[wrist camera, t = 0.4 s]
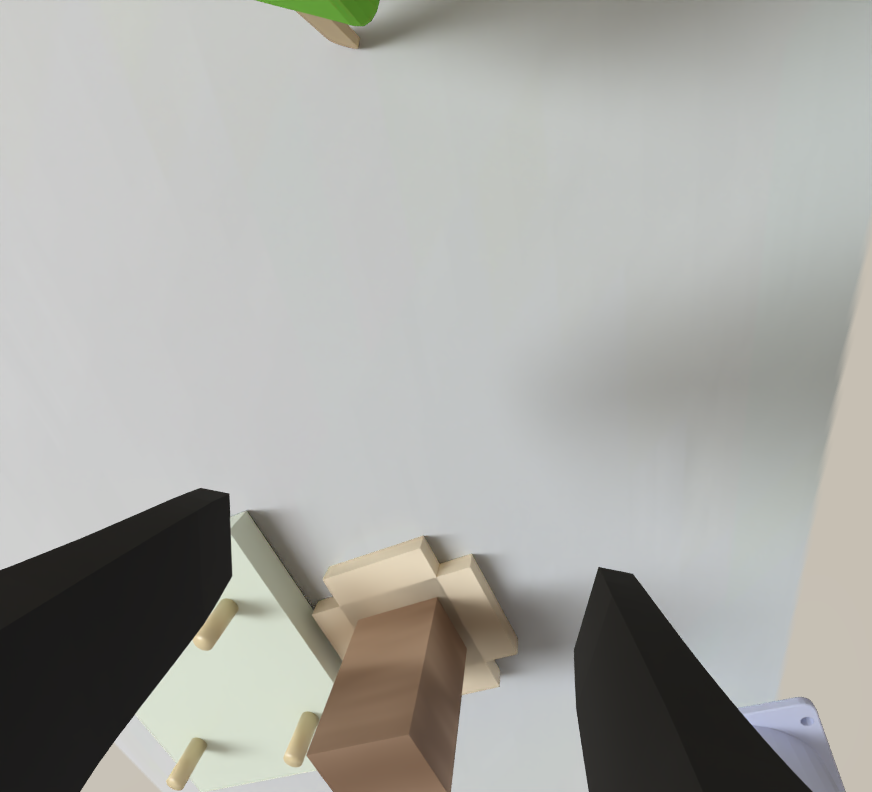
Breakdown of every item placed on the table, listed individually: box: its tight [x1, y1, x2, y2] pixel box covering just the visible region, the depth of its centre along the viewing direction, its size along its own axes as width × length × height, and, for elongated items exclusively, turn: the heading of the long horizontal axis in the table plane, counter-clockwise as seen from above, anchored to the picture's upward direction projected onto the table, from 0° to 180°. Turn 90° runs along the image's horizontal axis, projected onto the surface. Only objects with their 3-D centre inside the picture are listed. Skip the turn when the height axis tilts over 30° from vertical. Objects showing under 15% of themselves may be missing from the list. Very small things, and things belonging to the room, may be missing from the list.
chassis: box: [135, 511, 342, 792], centre depth 24 cm, size 14×12×4 cm
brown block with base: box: [306, 536, 518, 792], centre depth 20 cm, size 8×8×7 cm
